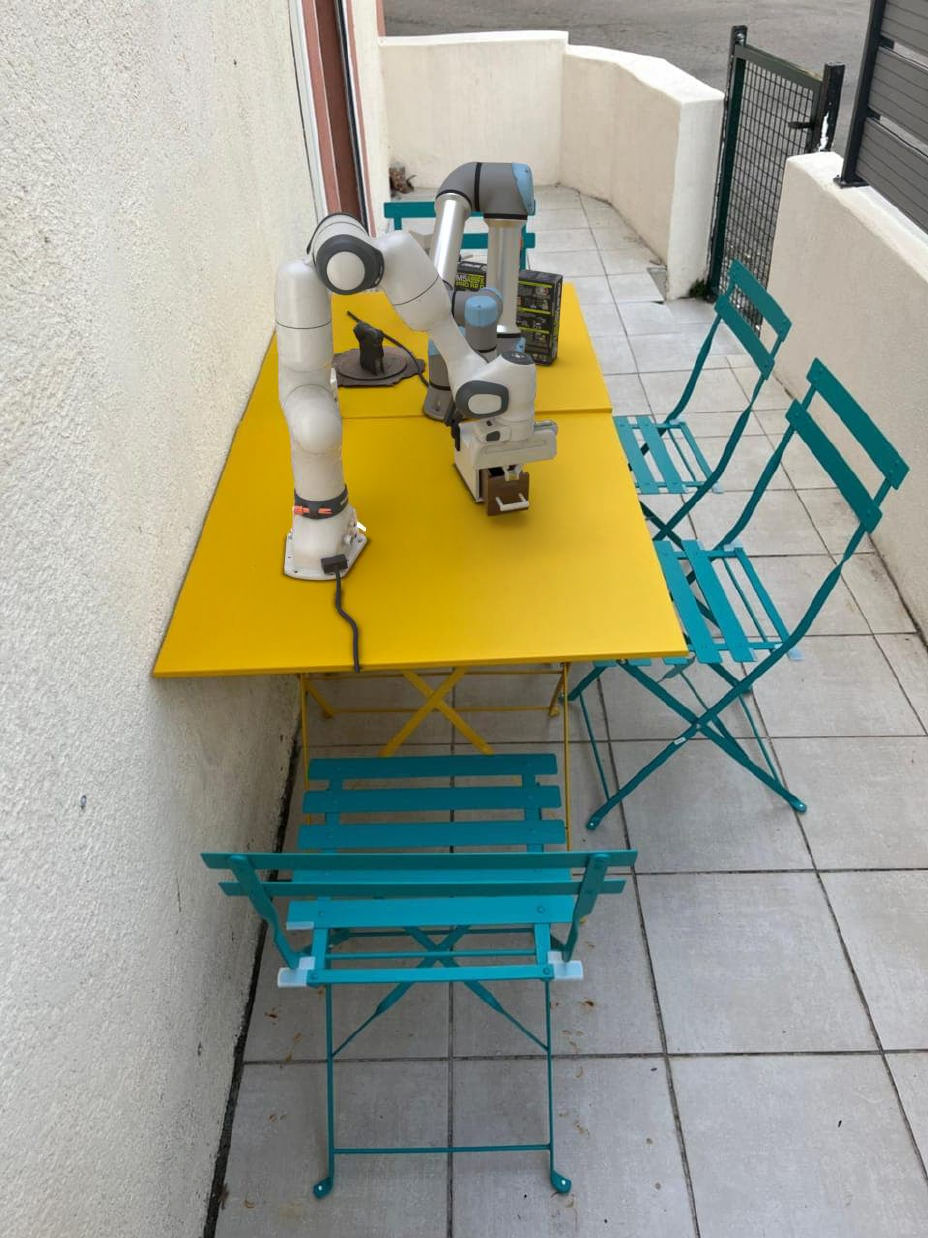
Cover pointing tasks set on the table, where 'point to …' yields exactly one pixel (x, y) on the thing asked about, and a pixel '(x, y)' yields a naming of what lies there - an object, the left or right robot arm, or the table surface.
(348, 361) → the sculpture
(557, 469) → the table surface
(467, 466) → the cabinet
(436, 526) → the table surface
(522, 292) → the box
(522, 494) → the drawer
